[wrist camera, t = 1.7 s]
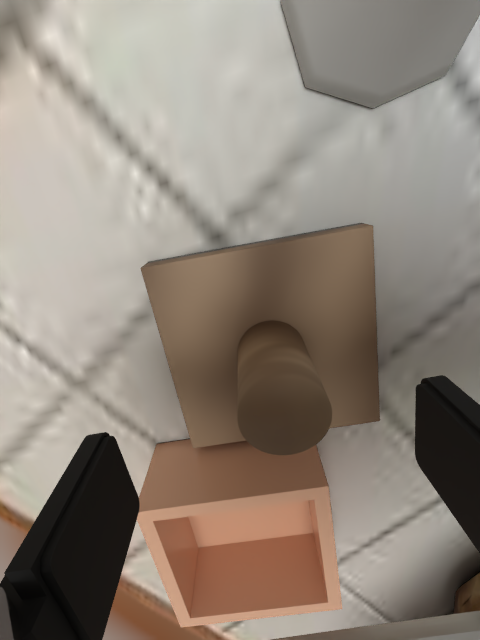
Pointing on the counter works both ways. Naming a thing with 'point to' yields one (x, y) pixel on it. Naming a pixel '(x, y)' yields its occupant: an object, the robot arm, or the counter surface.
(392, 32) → the flask
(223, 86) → the counter surface
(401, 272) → the counter surface
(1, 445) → the counter surface
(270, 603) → the open square container
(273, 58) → the counter surface
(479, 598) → the ceramic vessel
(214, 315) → the lid
